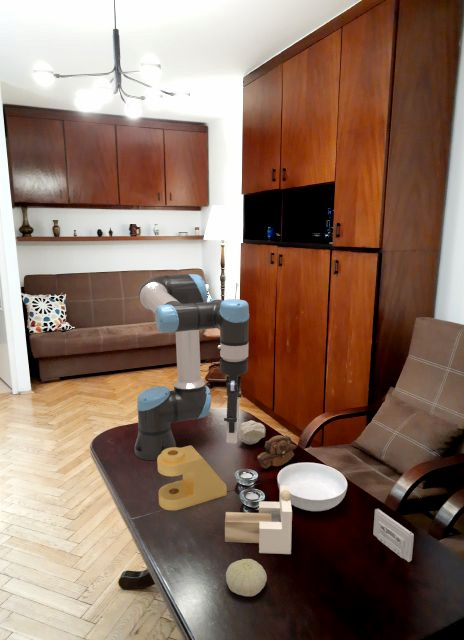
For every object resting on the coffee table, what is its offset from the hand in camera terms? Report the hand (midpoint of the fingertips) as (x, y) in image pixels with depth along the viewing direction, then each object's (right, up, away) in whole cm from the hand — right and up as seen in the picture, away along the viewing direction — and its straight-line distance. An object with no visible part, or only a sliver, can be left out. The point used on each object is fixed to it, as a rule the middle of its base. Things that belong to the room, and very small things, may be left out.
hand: (233, 430), depth 125 cm
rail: (+5, -27, -5) cm, 28 cm away
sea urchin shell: (0, -31, -22) cm, 38 cm away
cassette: (+41, -28, -9) cm, 51 cm away
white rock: (+8, -17, +46) cm, 49 cm away
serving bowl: (+24, -24, +12) cm, 36 cm away
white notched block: (+11, -27, -6) cm, 30 cm away
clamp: (-13, -24, +13) cm, 30 cm away
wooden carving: (+16, -20, +32) cm, 41 cm away
